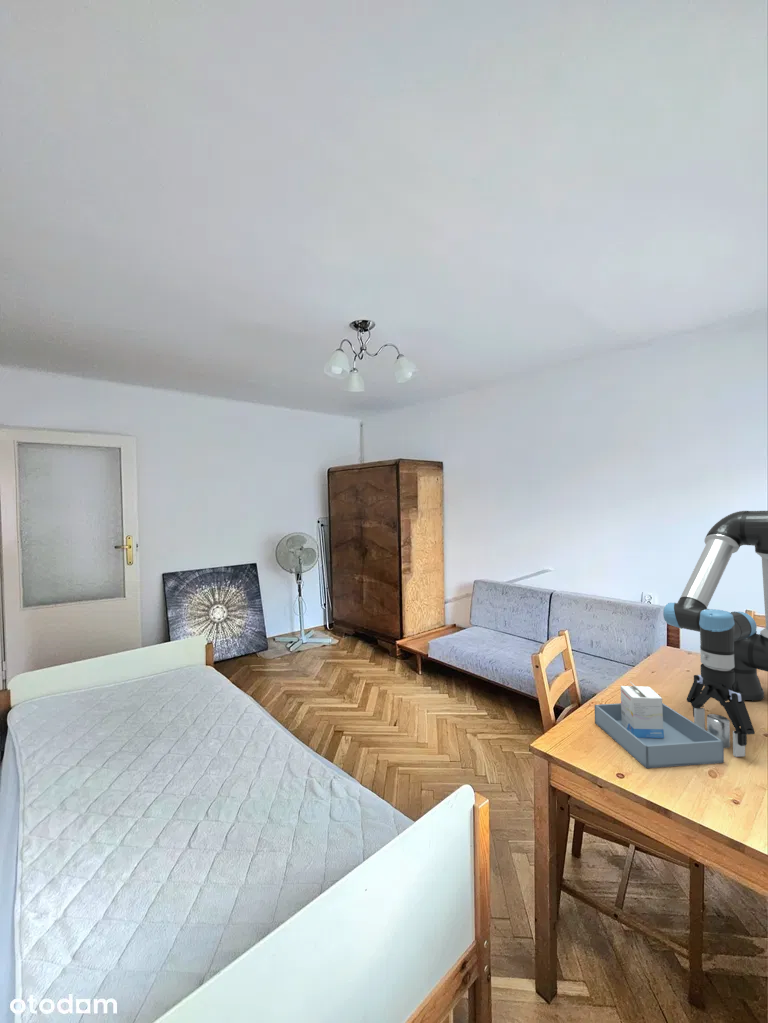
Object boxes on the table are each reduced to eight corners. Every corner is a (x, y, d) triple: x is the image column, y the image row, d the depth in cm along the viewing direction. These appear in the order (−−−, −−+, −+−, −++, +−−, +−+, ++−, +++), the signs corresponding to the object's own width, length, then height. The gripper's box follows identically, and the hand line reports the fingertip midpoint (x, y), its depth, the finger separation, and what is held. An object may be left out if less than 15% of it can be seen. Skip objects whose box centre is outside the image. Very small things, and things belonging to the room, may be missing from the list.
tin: (719, 737, 122) (718, 713, 122) (734, 747, 117) (734, 722, 117) (702, 738, 121) (702, 714, 121) (717, 748, 116) (717, 723, 116)
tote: (659, 718, 133) (659, 700, 133) (723, 762, 110) (723, 741, 110) (594, 722, 131) (594, 704, 131) (646, 768, 108) (645, 746, 108)
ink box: (664, 739, 120) (663, 692, 120) (633, 737, 121) (632, 691, 121) (650, 723, 129) (649, 680, 129) (620, 722, 130) (619, 679, 130)
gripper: (671, 652, 131) (673, 721, 131) (744, 684, 106) (746, 769, 106) (694, 651, 131) (695, 720, 131) (772, 683, 107) (773, 767, 107)
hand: (718, 742), depth 119 cm, fingers open, 12 cm apart
